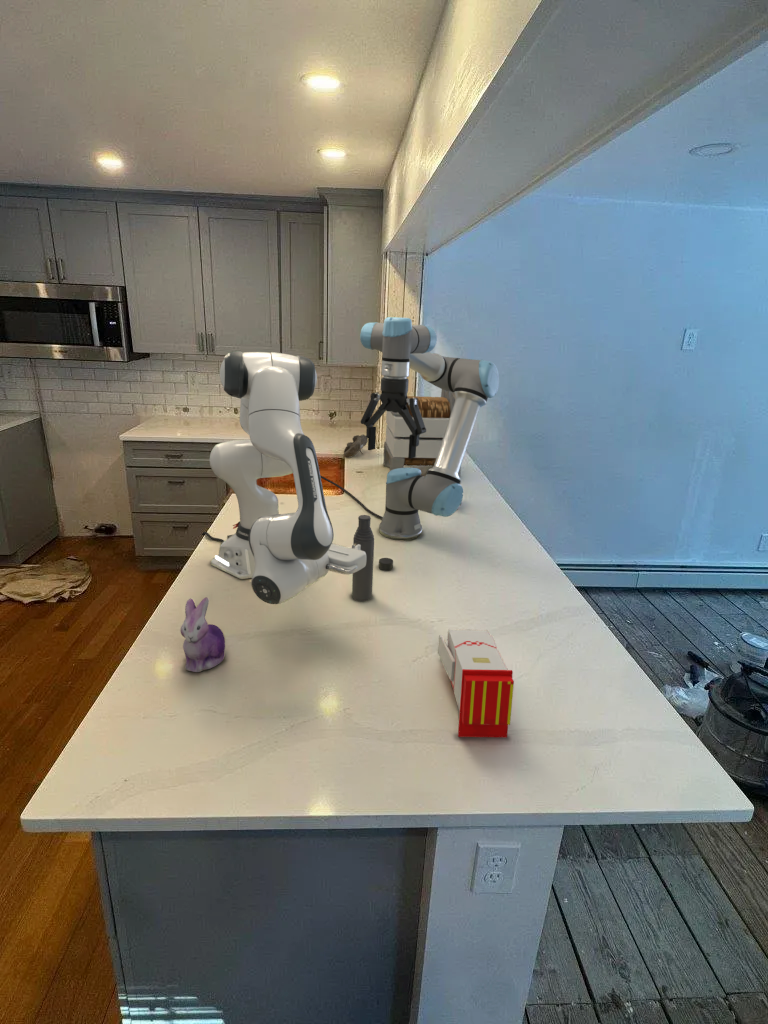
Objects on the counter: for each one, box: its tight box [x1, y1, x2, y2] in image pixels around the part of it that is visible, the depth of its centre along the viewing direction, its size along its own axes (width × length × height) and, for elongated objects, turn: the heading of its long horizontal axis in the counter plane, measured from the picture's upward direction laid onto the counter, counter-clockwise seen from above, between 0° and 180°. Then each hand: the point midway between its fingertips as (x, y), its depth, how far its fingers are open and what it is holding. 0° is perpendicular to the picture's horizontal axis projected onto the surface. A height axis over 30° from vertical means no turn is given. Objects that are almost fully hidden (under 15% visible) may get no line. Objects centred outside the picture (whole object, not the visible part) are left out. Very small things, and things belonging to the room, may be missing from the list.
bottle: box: [351, 514, 375, 602], centre depth 152 cm, size 6×6×23 cm
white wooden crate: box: [383, 389, 462, 479], centre depth 268 cm, size 34×33×41 cm
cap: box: [378, 557, 394, 572], centre depth 173 cm, size 4×4×2 cm
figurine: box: [180, 597, 226, 673], centre depth 122 cm, size 9×10×15 cm
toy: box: [437, 628, 515, 738], centre depth 117 cm, size 12×13×30 cm
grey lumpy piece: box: [343, 434, 368, 459], centre depth 304 cm, size 22×10×15 cm
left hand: (341, 542), depth 139 cm, fingers open, 8 cm apart
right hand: (391, 453), depth 161 cm, fingers open, 13 cm apart
